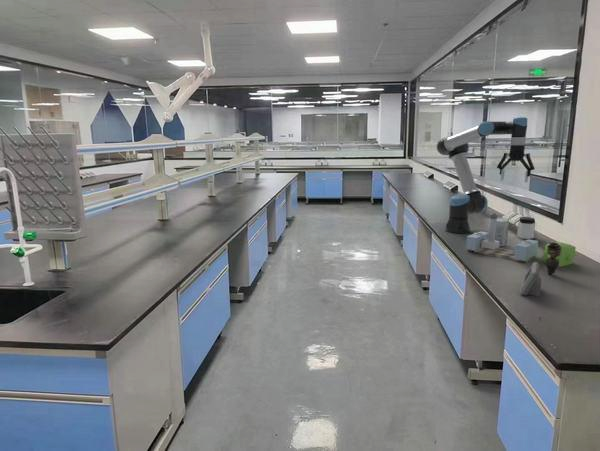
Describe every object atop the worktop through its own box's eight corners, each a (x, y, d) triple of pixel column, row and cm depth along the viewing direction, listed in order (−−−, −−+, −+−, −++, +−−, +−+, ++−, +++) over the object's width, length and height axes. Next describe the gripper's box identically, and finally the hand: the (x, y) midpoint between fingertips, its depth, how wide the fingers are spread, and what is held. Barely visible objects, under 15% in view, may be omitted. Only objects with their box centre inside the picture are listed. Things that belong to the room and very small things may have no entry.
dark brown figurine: (545, 271, 189) (549, 240, 185) (558, 274, 185) (563, 242, 182) (542, 274, 184) (546, 243, 181) (556, 277, 181) (561, 245, 178)
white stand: (481, 247, 220) (484, 212, 216) (486, 244, 224) (489, 211, 220) (494, 249, 215) (497, 214, 211) (499, 247, 219) (502, 213, 215)
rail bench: (467, 250, 223) (468, 246, 223) (477, 246, 231) (478, 242, 230) (526, 262, 201) (526, 258, 201) (535, 257, 209) (535, 253, 209)
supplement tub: (497, 241, 240) (499, 217, 237) (510, 245, 232) (513, 220, 228) (484, 243, 237) (486, 218, 234) (497, 247, 228) (499, 221, 225)
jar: (527, 239, 243) (530, 220, 241) (514, 237, 250) (516, 218, 247) (535, 237, 248) (538, 218, 245) (522, 235, 255) (524, 216, 252)
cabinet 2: (514, 258, 203) (515, 243, 201) (526, 252, 214) (528, 237, 212) (524, 260, 200) (526, 245, 198) (536, 254, 210) (538, 239, 209)
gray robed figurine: (523, 282, 175) (525, 259, 173) (546, 288, 169) (550, 263, 167) (511, 293, 164) (514, 268, 161) (536, 299, 158) (540, 273, 155)
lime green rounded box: (555, 270, 191) (559, 251, 189) (536, 263, 200) (539, 245, 197) (579, 264, 199) (583, 246, 196) (560, 258, 207) (563, 240, 205)
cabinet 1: (466, 248, 221) (467, 234, 220) (479, 243, 232) (480, 229, 230) (475, 250, 218) (476, 236, 216) (488, 244, 228) (489, 231, 227)
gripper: (543, 144, 230) (539, 182, 234) (498, 144, 248) (495, 179, 253) (538, 145, 225) (534, 183, 230) (493, 144, 243) (489, 180, 248)
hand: (513, 181), depth 241 cm, fingers open, 13 cm apart
